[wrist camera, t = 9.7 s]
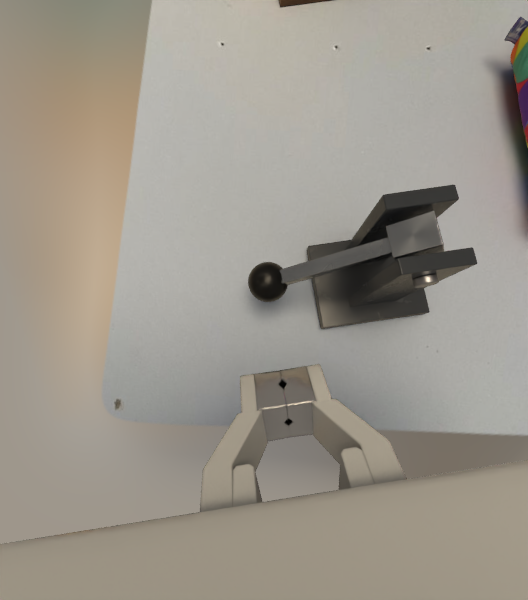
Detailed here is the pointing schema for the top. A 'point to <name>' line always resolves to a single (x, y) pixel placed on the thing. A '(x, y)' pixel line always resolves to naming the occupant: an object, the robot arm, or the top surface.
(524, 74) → the pencil case
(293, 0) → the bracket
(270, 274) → the lever
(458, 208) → the top surface
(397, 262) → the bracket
